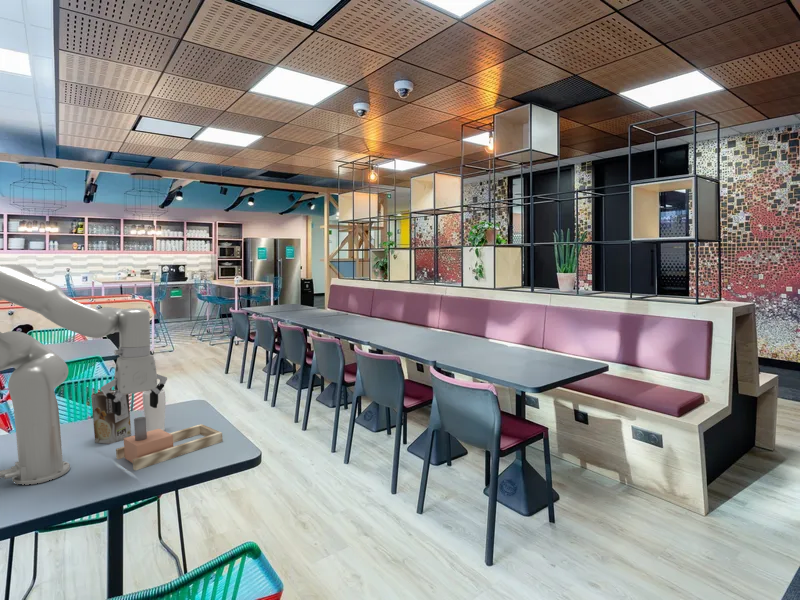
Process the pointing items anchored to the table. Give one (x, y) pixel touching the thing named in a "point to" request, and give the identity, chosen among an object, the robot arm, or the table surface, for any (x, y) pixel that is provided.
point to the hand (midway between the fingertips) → (136, 410)
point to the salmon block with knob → (145, 441)
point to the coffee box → (110, 419)
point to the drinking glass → (154, 411)
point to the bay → (166, 454)
